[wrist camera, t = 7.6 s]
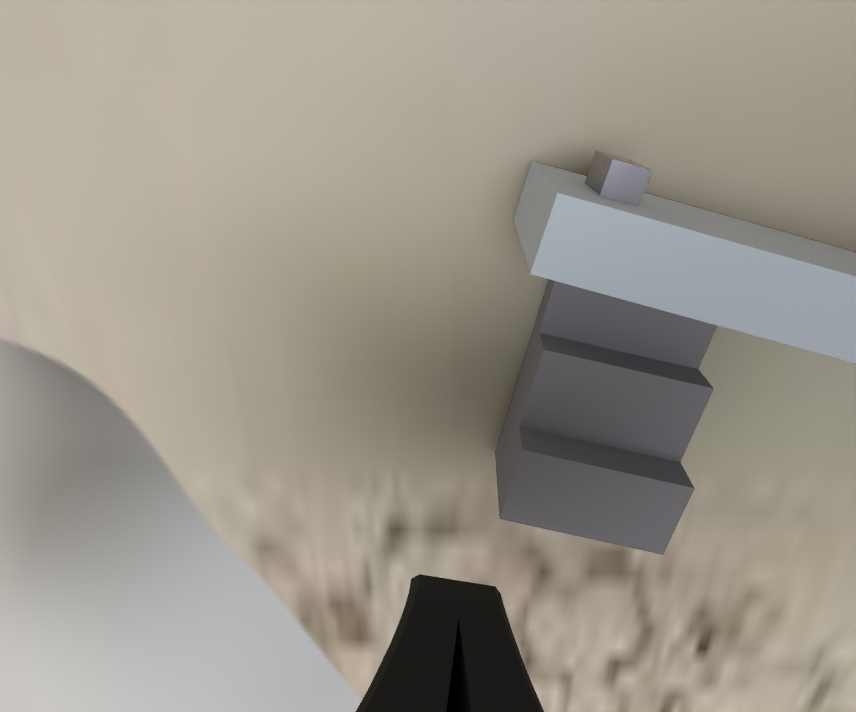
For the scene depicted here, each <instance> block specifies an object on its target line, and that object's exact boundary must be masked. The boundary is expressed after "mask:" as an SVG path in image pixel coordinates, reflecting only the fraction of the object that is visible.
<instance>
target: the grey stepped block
mask: <svg viewBox="0 0 856 712" xmlns="http://www.w3.org/2000/svg"><path fill="white" fill-rule="evenodd" d="M716 327H717V325H714V324H710V323H706V322H703V321H699V320H696V319H692V318H688V317H685V316H681V315H677V314H674V313H670V312H666V311H663V310H659V309H656V308H652V307H648V306H645V305H641V304H637V303H634V302H630V301H626V300H623V299H619V298H616V297H612V296H608V295H605V294H601V293H597V292H594V291H590V290H586V289H583V288H579V287H576V286H572V285H568V284H565V283H561V282H557V281H554V280H550V279H549V280H548V283H547V286H546V290H545V293H544V296H543V299H542V303H541V306H540V309H539V312H538V316H537V319H536V322H535V325H534V329H533V332H532V335H531V338H530V342H529V345H528V348H527V351H526V354H525V358H524V361H523V364H522V367H521V371H520V374H519V377H518V380H517V384H516V387H515V390H514V393H513V397H512V400H511V403H510V406H509V410H508V413H507V416H506V419H505V423H504V426H503V429H502V432H501V436H500V439H499V442H498V445H497V448H496V452H495V455H496V470H497V485H498V500H499V515H500V519H503V520H508V521H512V522H517V523H521V524H526V525H530V526H535V527H539V528H544V529H549V530H553V531H558V532H562V533H567V534H571V535H576V536H580V537H585V538H589V539H594V540H598V541H603V542H608V543H612V544H617V545H621V546H626V547H630V548H635V549H639V550H644V551H648V552H653V553H657V554H662V555H663V554H664V552H665V549H666V547H667V545H668V543H669V541H670V539H671V537H672V535H673V533H674V530H675V528H676V526H677V524H678V522H679V520H680V518H681V516H682V514H683V511H684V509H685V507H686V505H687V503H688V501H689V499H690V497H691V495H692V492H693V490H694V487H693V485H692V483H691V481H690V479H689V478H688V476H687V474H686V472H685V470H684V469H683V467H682V465H681V463H680V461H681V459H682V457H683V455H684V452H685V450H686V448H687V446H688V444H689V441H690V439H691V437H692V435H693V433H694V430H695V428H696V426H697V424H698V422H699V419H700V417H701V415H702V413H703V411H704V408H705V406H706V404H707V402H708V399H709V397H710V395H711V393H712V391H713V387H712V386H711V385H710V384H709V382H708V381H707V380H706V379H705V377H704V376H703V375H702V374H701V372H700V371H699V370H698V368H699V366H700V363H701V361H702V359H703V357H704V354H705V352H706V350H707V347H708V345H709V343H710V340H711V338H712V336H713V334H714V331H715V329H716Z"/></svg>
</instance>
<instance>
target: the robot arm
mask: <svg viewBox="0 0 856 712" xmlns="http://www.w3.org/2000/svg"><path fill="white" fill-rule="evenodd" d="M356 712H544V711H543V708H542V706H541V704H540V701H539V699H538V697H537V694H536V692H535V690H534V688H533V685H532V683H531V680H530V678H529V675H528V673H527V670H526V668H525V665H524V663H523V660H522V657H521V655H520V652H519V649H518V647H517V644H516V641H515V639H514V636H513V633H512V630H511V627H510V624H509V621H508V618H507V615H506V611H505V608H504V605H503V601H502V597H501V594H500V592H499V591H498V590H497V588H496V587H495V586H488V585H482V584H476V583H470V582H463V581H457V580H451V579H445V578H438V577H432V576H426V575H420V574H419V575H418V576H416V577H414V578H412V579H411V584H410V590H409V594H408V598H407V601H406V605H405V608H404V611H403V614H402V616H401V619H400V622H399V624H398V627H397V629H396V632H395V634H394V636H393V639H392V641H391V644H390V646H389V648H388V650H387V652H386V654H385V656H384V658H383V660H382V662H381V665H380V667H379V669H378V671H377V673H376V675H375V677H374V679H373V681H372V683H371V685H370V687H369V689H368V691H367V693H366V695H365V696H364V698H363V700H362V702H361V703H360V705H359V707H358V709H357V711H356Z"/></svg>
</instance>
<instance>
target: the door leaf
mask: <svg viewBox="0 0 856 712" xmlns="http://www.w3.org/2000/svg"><path fill="white" fill-rule="evenodd" d="M651 174H652V170H650V169H648V168H646V167H644V166H642V165H639V164H637V163H635V162H633V161H630V160H627V159H623V158H620V157H616V156H613V155H609V154H606V153H602V152H599V151H596V152H595V155H594V158H593V161H592V164H591V166H590V169H589V172H588V175H587V176H584V175H581V174H577V173H573V172H570V171H566V170H563V169H559V168H556V167H552V166H549V165H545V164H542V163H538V162H535V161H532V162H531V165H530V169H529V172H528V175H527V178H526V181H525V184H524V188H523V191H522V194H521V197H520V200H519V203H518V207H517V210H516V213H515V216H514V223H515V226H516V229H517V233H518V236H519V239H520V242H521V246H522V249H523V252H524V256H525V259H526V262H527V266H528V269H529V272H530V274H532V275H536V276H539V277H543V278H546V279H550V280H554V281H557V282H561V283H565V284H568V285H572V286H576V287H579V288H583V289H586V290H590V291H594V292H597V293H601V294H605V295H608V296H612V297H616V298H619V299H623V300H626V301H630V302H634V303H637V304H641V305H645V306H648V307H652V308H656V309H659V310H663V311H666V312H670V313H674V314H677V315H681V316H685V317H688V318H692V319H696V320H699V321H703V322H706V323H710V324H714V325H717V326H721V327H725V328H728V329H732V330H736V331H739V332H743V333H747V334H750V335H754V336H757V337H761V338H765V339H768V340H772V341H776V342H779V343H783V344H787V345H790V346H794V347H797V348H801V349H805V350H808V351H812V352H816V353H819V354H823V355H827V356H830V357H834V358H837V359H841V360H845V361H848V362H852V363H856V252H853V251H850V250H846V249H843V248H839V247H835V246H832V245H828V244H825V243H821V242H818V241H814V240H811V239H807V238H804V237H800V236H797V235H793V234H789V233H786V232H782V231H779V230H775V229H772V228H768V227H765V226H761V225H758V224H754V223H750V222H747V221H743V220H740V219H736V218H733V217H729V216H726V215H722V214H719V213H715V212H712V211H708V210H704V209H701V208H697V207H694V206H690V205H687V204H683V203H680V202H676V201H673V200H669V199H666V198H662V197H658V196H655V195H651V194H648V193H644V192H645V189H646V187H647V184H648V181H649V179H650V176H651Z"/></svg>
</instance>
